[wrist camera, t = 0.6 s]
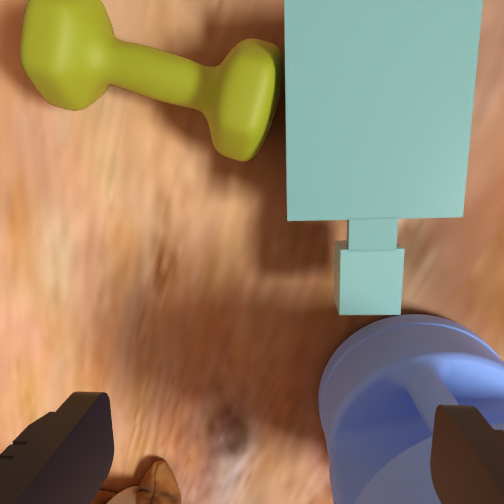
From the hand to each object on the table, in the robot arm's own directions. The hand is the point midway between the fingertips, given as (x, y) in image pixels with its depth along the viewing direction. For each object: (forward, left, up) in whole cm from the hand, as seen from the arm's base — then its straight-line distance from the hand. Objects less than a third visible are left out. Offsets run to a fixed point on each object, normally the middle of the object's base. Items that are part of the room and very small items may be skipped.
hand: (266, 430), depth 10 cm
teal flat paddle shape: (-6, +6, -19) cm, 21 cm away
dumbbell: (-12, -8, -24) cm, 28 cm away
